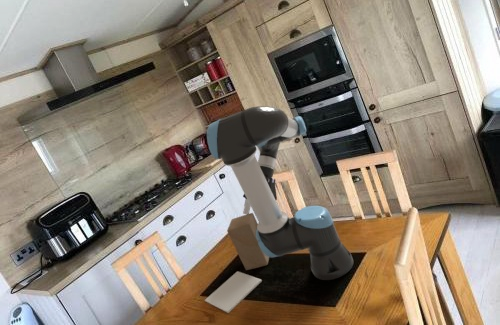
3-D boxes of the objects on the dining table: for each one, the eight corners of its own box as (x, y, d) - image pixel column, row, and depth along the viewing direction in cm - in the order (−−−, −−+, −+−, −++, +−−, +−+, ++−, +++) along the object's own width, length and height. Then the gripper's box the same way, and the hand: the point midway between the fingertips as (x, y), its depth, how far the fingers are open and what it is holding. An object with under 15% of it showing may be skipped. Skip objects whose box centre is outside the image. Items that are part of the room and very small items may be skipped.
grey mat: (262, 280, 143) (261, 279, 143) (228, 313, 133) (227, 311, 133) (237, 272, 156) (237, 271, 155) (205, 301, 146) (204, 300, 146)
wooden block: (268, 265, 151) (249, 223, 146) (245, 271, 154) (226, 230, 149) (270, 251, 161) (252, 212, 155) (249, 257, 163) (231, 218, 158)
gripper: (291, 169, 154) (281, 219, 150) (254, 170, 174) (244, 214, 170) (278, 164, 150) (267, 216, 146) (242, 165, 170) (231, 211, 166)
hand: (255, 215), depth 158 cm, fingers open, 13 cm apart
